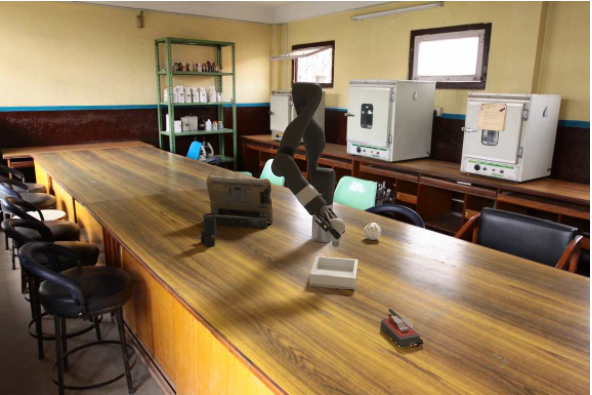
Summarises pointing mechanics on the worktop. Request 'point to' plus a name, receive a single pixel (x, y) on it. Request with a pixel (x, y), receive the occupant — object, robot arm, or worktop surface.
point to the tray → (334, 272)
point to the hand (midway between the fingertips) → (341, 235)
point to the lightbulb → (339, 227)
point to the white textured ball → (372, 231)
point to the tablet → (240, 201)
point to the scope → (208, 230)
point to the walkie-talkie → (400, 330)
